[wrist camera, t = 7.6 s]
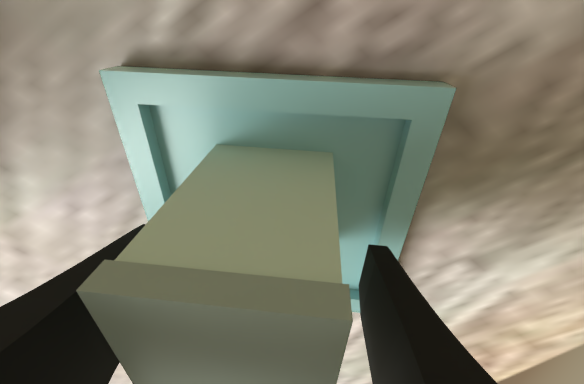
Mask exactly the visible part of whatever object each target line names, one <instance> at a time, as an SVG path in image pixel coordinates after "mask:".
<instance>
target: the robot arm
mask: <svg viewBox="0 0 584 384" xmlns="http://www.w3.org/2000/svg"><path fill="white" fill-rule="evenodd" d="M144 226H145V224H143V225H141V226H139V227H137V228H136V229H134V230H132V231H130V232H129V233H127V234H125V235H124V236H122V237H121V238H119V239H117V240H116V241H114V242H112V243H111V244H109V245H108V246H106V247H104V248H103V249H101V250H100V251H98V252H96V253H95V254H93V255H91V256H90V257H88V258H87V259H85V260H83V261H82V262H80V263H78V264H77V265H75V266H73V267H72V268H70V269H68V270H66V271H65V272H63V273H61V274H60V275H58V276H56V277H54V278H53V279H51V280H49V281H47V282H46V283H44V284H42V285H40V286H39V287H37V288H35V289H33V290H32V291H30V292H28V293H26V294H24V295H22V296H21V297H19V298H17V299H15V300H13V301H11V302H9V303H7V304H5V305H3V306H1V307H0V384H108V383H109V381H110V379H111V377H112V375H113V373H114V371H115V369H116V368H117V366H118V364H119V360H118V358H117V357H116V355H115V353H114V352H113V350H112V348H111V347H110V345H109V344H108V342H107V340H106V339H105V337H104V335H103V334H102V332H101V331H100V329H99V327H98V326H97V324H96V322H95V321H94V319H93V317H92V316H91V314H90V313H89V311H88V309H87V308H86V306H85V304H84V303H83V301H82V299H81V298H80V296H79V295H78V293H77V291H76V290H77V289H78V288H79V287H80V286H81V285H82V283H83V282H84V281H85V280H86V279H87V278H88V277H89V276H90V275H91V274H92V273H93V272H94V270H95V269H96V268H97V267H98V266H99V265H100V264H101V263H102V262H103V261H104V260H115V259H116V258H117V257H118V256H119V254H120V253H121V252H122V251H123V250H124V249H125V248H126V247H127V245H128V244H129V243H130V242H131V241H132V240H133V239H134V237H135V236H136V235H137V234H138V233H139V232H140V231H141V229H142V228H143V227H144ZM359 302H360V315H361V321H362V327H363V332H364V338H365V344H366V349H367V355H368V360H369V366H370V371H371V377H372V382H373V384H497V383H496V382H495V381H494V380H493V378H492V377H491V376H490V375H489V374H488V373H487V372H486V371H485V370H484V369H483V368H482V367H481V365H480V364H479V363H478V362H477V361H476V360H475V359H474V358H473V357H472V356H471V354H470V353H469V352H468V351H467V350H466V349H465V348H464V346H463V345H462V344H461V343H460V342H459V341H458V339H457V338H456V337H455V336H454V335H453V333H452V332H451V331H450V330H449V329H448V327H447V326H446V325H445V324H444V323H443V321H442V320H441V319H440V318H439V316H438V315H437V314H436V313H435V311H434V310H433V309H432V307H431V306H430V305H429V303H428V302H427V301H426V299H425V298H424V297H423V296H422V294H421V293H420V292H419V290H418V289H417V287H416V286H415V285H414V283H413V282H412V281H411V279H410V278H409V276H408V275H407V273H406V272H405V271H404V269H403V268H402V266H401V265H400V263H399V262H398V260H397V259H396V257H395V256H394V254H393V253H392V251H391V250H390V249H389V247H388V246H381V245H370V244H369V245H368V249H367V253H366V257H365V261H364V265H363V269H362V273H361V277H360V281H359Z"/></svg>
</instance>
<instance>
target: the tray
mask: <svg viewBox="0 0 584 384" xmlns="http://www.w3.org/2000/svg"><path fill="white" fill-rule="evenodd" d="M99 72H100V75H101V78H102V81H103V84H104V88H105V91H106V94H107V97H108V100H109V103H110V106H111V109H112V112H113V115H114V118H115V121H116V124H117V127H118V130H119V133H120V137H121V140H122V143H123V146H124V149H125V152H126V155H127V158H128V161H129V164H130V167H131V170H132V173H133V176H134V179H135V183H136V186H137V189H138V192H139V195H140V198H141V201H142V204H143V207H144V210H145V213H146V216H147V219H148V221H149V220H150V219H151V218H152V217H153V216H154V215H155V214H156V212H157V211H158V210H159V209H160V208H161V207H162V206H163V204H164V203H165V202H166V201H167V200H168V199H169V198H170V196H171V195H172V194H173V193H174V192H175V191H176V190H177V188H178V187H179V186H180V185H181V184H182V183H183V182H184V181H185V179H186V178H187V177H188V176H189V175H190V174H191V173H192V171H193V170H194V169H195V168H196V167H197V166H198V165H199V163H200V162H201V161H202V160H203V159H204V158H205V157H206V156H207V154H208V153H209V152H210V151H211V150H212V149H213V148H214V146H215V145H216V144H217V145H232V146H246V147H260V148H274V149H289V150H303V151H317V152H331V153H333V163H334V177H335V190H336V204H337V217H338V231H339V244H340V258H341V271H342V284H349V289H350V299H351V309H352V312H358V313H360V302H359V281H360V277H361V273H362V269H363V265H364V261H365V257H366V253H367V249H368V245H369V244H370V245H381V246H388V247H389V249H390V250H391V251H392V253H393V254H394V256H395V257H396V259H397V260H398V259H399V256H400V253H401V250H402V247H403V244H404V241H405V238H406V235H407V232H408V229H409V226H410V223H411V220H412V217H413V214H414V212H415V209H416V206H417V203H418V200H419V197H420V194H421V191H422V188H423V185H424V182H425V179H426V176H427V173H428V170H429V167H430V164H431V161H432V159H433V156H434V153H435V150H436V147H437V144H438V141H439V138H440V135H441V132H442V129H443V126H444V123H445V120H446V117H447V114H448V111H449V108H450V105H451V103H452V100H453V97H454V94H455V91H456V88H455V87H453V86H451V85H449V84H447V83H445V82H438V81H417V80H397V79H376V78H355V77H335V76H314V75H293V74H273V73H252V72H231V71H211V70H190V69H169V68H149V67H128V66H117V67H112V68H107V69H103V70H99Z"/></svg>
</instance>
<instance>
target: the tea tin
mask: <svg viewBox="0 0 584 384" xmlns="http://www.w3.org/2000/svg"><path fill="white" fill-rule="evenodd" d="M76 291H77V293H78V295H79V296H80V298H81V299H82V301H83V303H84V304H85V306H86V308H87V309H88V311H89V313H90V314H91V316H92V317H93V319H94V321H95V322H96V324H97V326H98V327H99V329H100V331H101V332H102V334H103V335H104V337H105V339H106V340H107V342H108V344H109V345H110V347H111V348H112V350H113V352H114V353H115V355H116V357H117V358H118V360H119V362H120V363H121V365H122V366H123V368H124V370H125V371H126V373H127V375H128V376H129V378H130V380H131V381H132V383H133V384H336V383H337V379H338V375H339V371H340V368H341V364H342V360H343V356H344V352H345V349H346V345H347V341H348V337H349V333H350V329H351V326H352V322H353V319H352V309H351V299H350V289H349V284H342V271H341V258H340V244H339V231H338V217H337V204H336V190H335V177H334V163H333V153H331V152H317V151H303V150H289V149H274V148H260V147H246V146H232V145H217V144H216V145H215V146H214V148H213V149H212V150H211V151H210V152H209V153H208V154H207V156H206V157H205V158H204V159H203V160H202V161H201V162H200V163H199V165H198V166H197V167H196V168H195V169H194V170H193V171H192V173H191V174H190V175H189V176H188V177H187V178H186V179H185V181H184V182H183V183H182V184H181V185H180V186H179V187H178V188H177V190H176V191H175V192H174V193H173V194H172V195H171V196H170V198H169V199H168V200H167V201H166V202H165V203H164V204H163V206H162V207H161V208H160V209H159V210H158V211H157V212H156V214H155V215H154V216H153V217H152V218H151V219H150V220H149V221H148V223H147V224H146V225H145V226H144V227H143V228H142V229H141V231H140V232H139V233H138V234H137V235H136V236H135V237H134V239H133V240H132V241H131V242H130V243H129V244H128V245H127V247H126V248H125V249H124V250H123V251H122V252H121V253H120V254H119V256H118V257H117V258H116V259H115V260H104V261H103V262H102V263H101V264H100V265H99V266H98V267H97V268H96V269H95V270H94V272H93V273H92V274H91V275H90V276H89V277H88V278H87V279H86V280H85V281H84V282H83V283H82V285H81V286H80V287H79V288H78V289H77V290H76Z"/></svg>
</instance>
